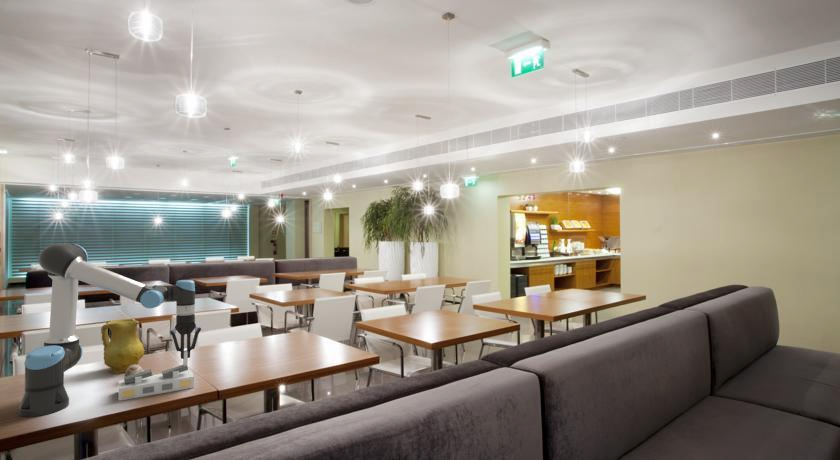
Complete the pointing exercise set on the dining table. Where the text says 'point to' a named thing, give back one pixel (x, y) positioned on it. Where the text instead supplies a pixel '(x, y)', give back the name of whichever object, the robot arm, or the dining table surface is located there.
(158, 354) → the dining table surface
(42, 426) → the dining table surface
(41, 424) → the dining table surface
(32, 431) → the dining table surface
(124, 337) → the pitcher
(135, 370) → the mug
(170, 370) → the rocker
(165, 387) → the switch unit
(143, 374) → the rocker
